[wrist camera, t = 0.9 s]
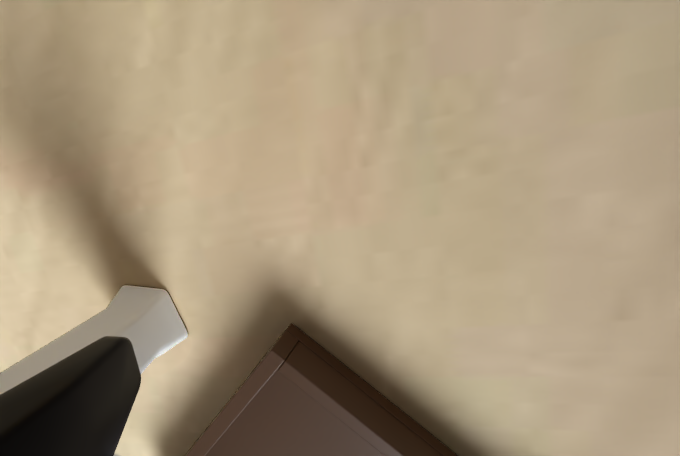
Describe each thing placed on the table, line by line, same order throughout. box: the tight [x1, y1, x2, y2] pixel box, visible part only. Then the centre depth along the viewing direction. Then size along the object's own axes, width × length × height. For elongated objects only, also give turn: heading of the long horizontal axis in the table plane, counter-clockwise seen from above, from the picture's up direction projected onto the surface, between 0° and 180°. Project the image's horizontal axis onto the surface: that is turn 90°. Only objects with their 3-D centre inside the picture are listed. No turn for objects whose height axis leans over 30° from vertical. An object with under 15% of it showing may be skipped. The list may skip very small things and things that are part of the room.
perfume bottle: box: [0, 285, 188, 395], centre depth 21 cm, size 5×4×15 cm
